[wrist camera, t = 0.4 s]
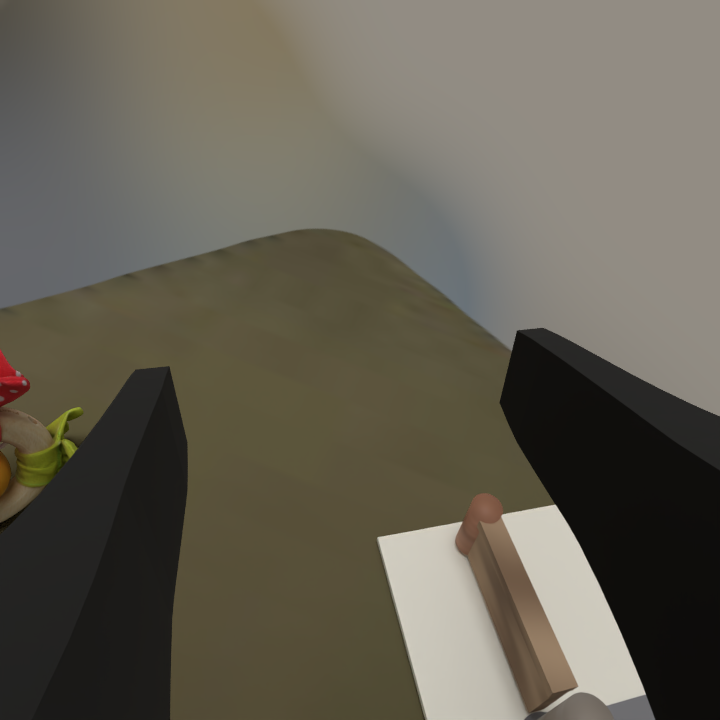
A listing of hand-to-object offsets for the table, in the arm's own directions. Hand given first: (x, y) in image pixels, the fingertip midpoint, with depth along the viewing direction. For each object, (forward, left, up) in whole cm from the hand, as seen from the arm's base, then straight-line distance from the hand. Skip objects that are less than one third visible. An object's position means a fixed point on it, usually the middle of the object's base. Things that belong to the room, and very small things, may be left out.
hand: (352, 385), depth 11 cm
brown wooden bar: (+1, -9, -20) cm, 22 cm away
